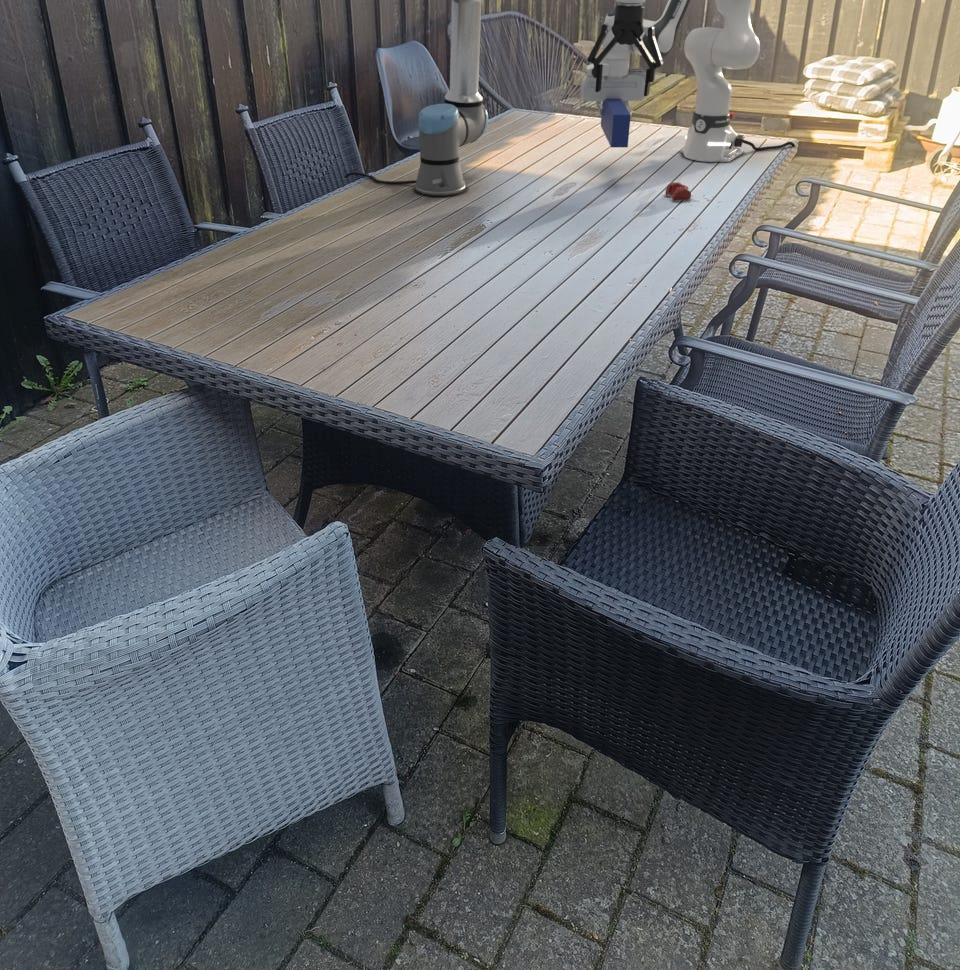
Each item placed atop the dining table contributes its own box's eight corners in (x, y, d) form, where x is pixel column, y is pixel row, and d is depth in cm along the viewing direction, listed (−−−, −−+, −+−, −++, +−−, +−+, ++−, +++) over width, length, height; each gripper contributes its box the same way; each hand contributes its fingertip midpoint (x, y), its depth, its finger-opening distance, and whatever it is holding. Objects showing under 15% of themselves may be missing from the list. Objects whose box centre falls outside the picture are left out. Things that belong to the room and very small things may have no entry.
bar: (627, 147, 252) (630, 114, 247) (610, 147, 252) (613, 114, 247) (615, 125, 275) (618, 95, 269) (600, 125, 275) (602, 95, 269)
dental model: (681, 178, 253) (693, 186, 247) (680, 192, 255) (692, 200, 249) (664, 180, 252) (676, 188, 246) (663, 194, 254) (674, 202, 248)
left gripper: (681, 4, 216) (670, 94, 228) (588, 0, 224) (582, 87, 237) (674, 8, 210) (663, 99, 223) (579, 3, 219) (574, 91, 231)
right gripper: (646, 66, 264) (641, 113, 272) (581, 66, 264) (578, 113, 272) (649, 69, 258) (644, 117, 267) (583, 69, 259) (580, 117, 267)
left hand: (622, 93), depth 230 cm, fingers open, 13 cm apart
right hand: (610, 115), depth 269 cm, fingers closed on bar, 5 cm apart
